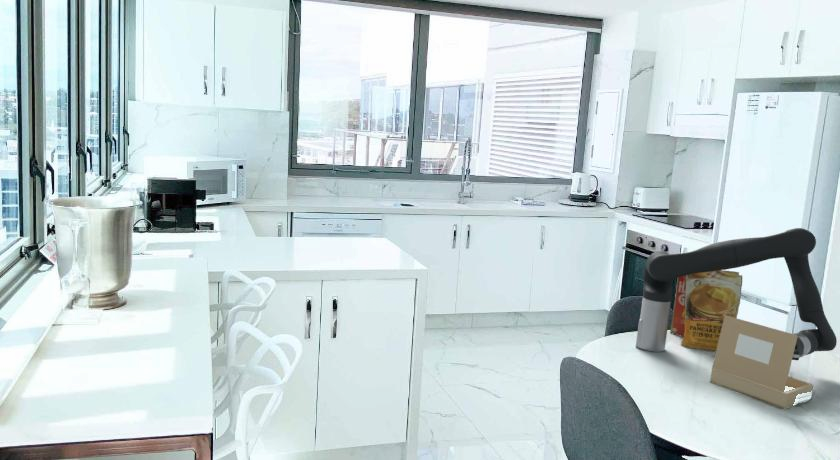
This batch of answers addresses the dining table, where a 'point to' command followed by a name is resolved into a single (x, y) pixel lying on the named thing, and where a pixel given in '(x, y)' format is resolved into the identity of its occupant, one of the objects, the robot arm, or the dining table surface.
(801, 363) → the dining table surface
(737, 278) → the pancake mix bag
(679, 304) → the food packaging
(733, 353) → the lid
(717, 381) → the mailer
